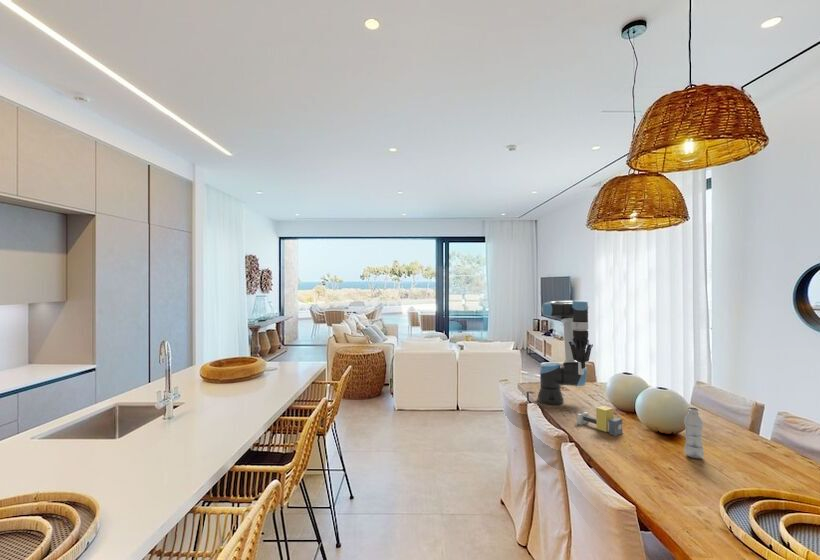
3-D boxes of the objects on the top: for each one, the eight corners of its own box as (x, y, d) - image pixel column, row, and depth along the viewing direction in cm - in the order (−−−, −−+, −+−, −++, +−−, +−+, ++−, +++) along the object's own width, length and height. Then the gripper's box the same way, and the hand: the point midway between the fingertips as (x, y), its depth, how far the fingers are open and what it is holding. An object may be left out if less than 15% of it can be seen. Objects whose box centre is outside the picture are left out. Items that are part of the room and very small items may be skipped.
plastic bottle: (700, 454, 160) (698, 407, 160) (706, 461, 154) (705, 412, 154) (682, 452, 162) (681, 405, 162) (688, 459, 156) (686, 410, 156)
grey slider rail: (585, 421, 201) (585, 407, 201) (624, 433, 183) (624, 419, 183) (577, 423, 197) (576, 410, 197) (616, 437, 180) (615, 422, 180)
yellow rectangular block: (603, 426, 192) (603, 405, 192) (613, 429, 187) (613, 408, 188) (596, 428, 189) (596, 407, 189) (606, 431, 184) (605, 410, 184)
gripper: (565, 329, 204) (565, 372, 204) (587, 331, 193) (588, 378, 193) (573, 327, 208) (574, 370, 208) (596, 330, 197) (597, 375, 197)
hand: (581, 374), depth 201 cm, fingers closed
